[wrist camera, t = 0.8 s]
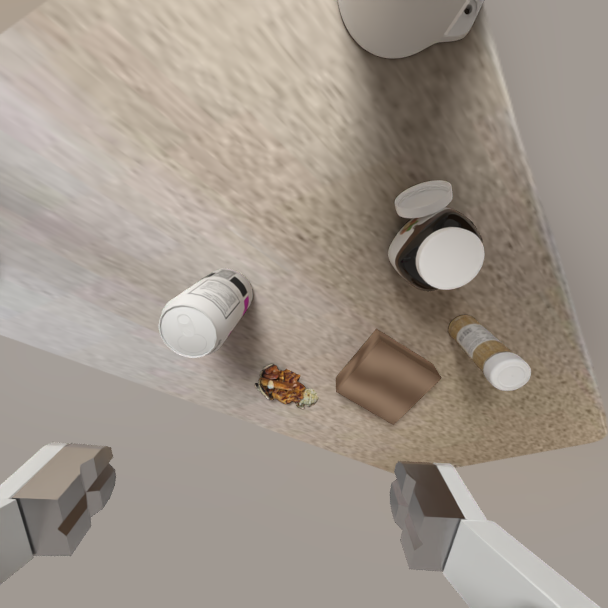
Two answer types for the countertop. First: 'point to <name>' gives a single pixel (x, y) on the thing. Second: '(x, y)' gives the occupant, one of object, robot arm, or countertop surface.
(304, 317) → the countertop surface
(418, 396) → the walnut base
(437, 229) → the spread jar
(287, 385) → the pastry
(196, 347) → the supplement can
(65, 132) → the countertop surface
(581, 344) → the countertop surface
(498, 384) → the sprinkles bottle
